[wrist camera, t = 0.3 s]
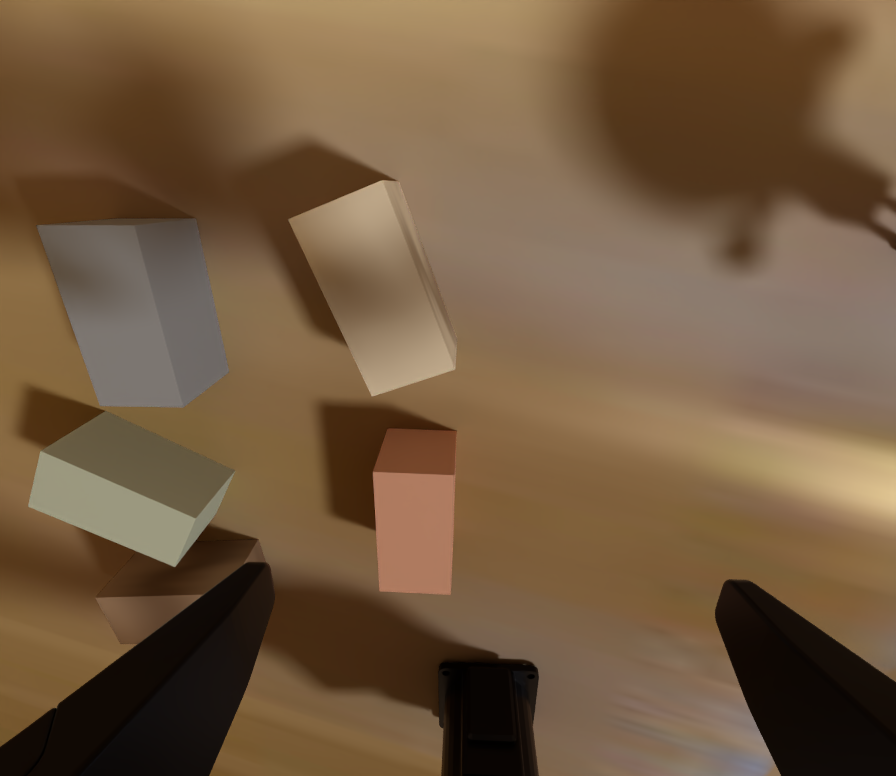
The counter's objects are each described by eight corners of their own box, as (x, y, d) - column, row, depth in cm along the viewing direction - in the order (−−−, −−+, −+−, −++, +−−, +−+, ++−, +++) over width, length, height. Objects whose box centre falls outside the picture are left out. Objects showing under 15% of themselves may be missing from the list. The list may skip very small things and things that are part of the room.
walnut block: (259, 537, 26) (225, 593, 23) (273, 581, 28) (244, 641, 24) (145, 541, 27) (94, 597, 23) (165, 585, 28) (120, 644, 25)
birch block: (457, 337, 21) (455, 369, 17) (388, 360, 21) (372, 396, 18) (399, 181, 18) (382, 180, 15) (322, 213, 19) (288, 219, 15)
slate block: (230, 370, 22) (183, 407, 18) (160, 370, 22) (100, 406, 18) (197, 218, 19) (134, 225, 16) (117, 218, 19) (36, 225, 16)
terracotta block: (453, 536, 26) (450, 594, 22) (392, 534, 26) (379, 591, 22) (456, 429, 23) (454, 475, 19) (387, 426, 23) (372, 471, 19)
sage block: (236, 469, 24) (195, 518, 21) (216, 513, 26) (174, 567, 22) (107, 409, 23) (40, 450, 20) (93, 458, 24) (28, 506, 21)
